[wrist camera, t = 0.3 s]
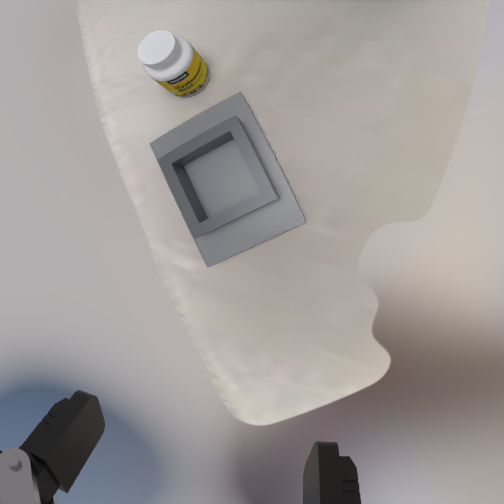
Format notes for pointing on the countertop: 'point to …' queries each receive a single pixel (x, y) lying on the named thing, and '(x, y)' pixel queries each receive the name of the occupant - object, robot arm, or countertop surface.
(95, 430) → the robot arm
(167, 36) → the supplement bottle
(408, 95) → the countertop surface
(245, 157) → the gray socket holder
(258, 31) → the countertop surface
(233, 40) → the countertop surface
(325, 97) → the countertop surface
